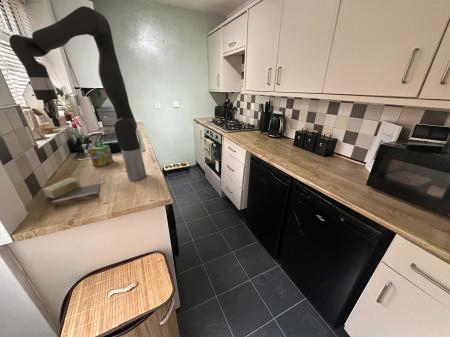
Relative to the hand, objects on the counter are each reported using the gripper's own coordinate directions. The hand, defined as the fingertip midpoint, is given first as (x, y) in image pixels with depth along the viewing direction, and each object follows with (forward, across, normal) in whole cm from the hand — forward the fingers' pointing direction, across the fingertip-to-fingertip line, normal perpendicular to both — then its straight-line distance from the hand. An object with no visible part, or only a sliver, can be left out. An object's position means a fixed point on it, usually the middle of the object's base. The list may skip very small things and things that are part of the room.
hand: (57, 126), depth 91 cm
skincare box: (+26, -12, -2) cm, 29 cm away
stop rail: (+29, -28, -4) cm, 41 cm away
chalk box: (+29, +18, -12) cm, 36 cm away
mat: (+29, -21, -4) cm, 36 cm away
